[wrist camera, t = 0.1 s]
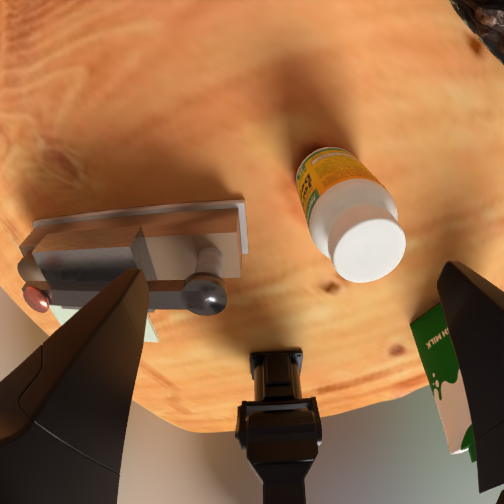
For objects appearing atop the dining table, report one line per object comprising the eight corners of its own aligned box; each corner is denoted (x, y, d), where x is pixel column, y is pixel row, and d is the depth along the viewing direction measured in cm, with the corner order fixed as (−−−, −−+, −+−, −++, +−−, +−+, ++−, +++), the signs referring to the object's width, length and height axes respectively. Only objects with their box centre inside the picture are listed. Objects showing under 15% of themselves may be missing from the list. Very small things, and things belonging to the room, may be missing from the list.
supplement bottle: (363, 202, 23) (412, 282, 15) (300, 214, 23) (323, 302, 16) (358, 139, 19) (422, 198, 12) (288, 151, 20) (313, 218, 13)
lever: (225, 270, 17) (223, 288, 16) (229, 303, 19) (228, 321, 18) (24, 275, 18) (15, 287, 17) (39, 300, 20) (31, 313, 18)
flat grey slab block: (161, 289, 23) (153, 312, 21) (72, 289, 23) (62, 308, 21) (141, 225, 19) (129, 246, 17) (46, 234, 19) (31, 252, 17)
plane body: (244, 199, 23) (242, 252, 17) (248, 249, 25) (247, 308, 20) (35, 220, 23) (-2, 262, 18) (52, 258, 26) (22, 303, 21)
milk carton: (455, 284, 28) (525, 430, 12) (472, 311, 32) (526, 431, 16) (400, 326, 33) (446, 474, 17) (426, 346, 36) (465, 467, 20)
